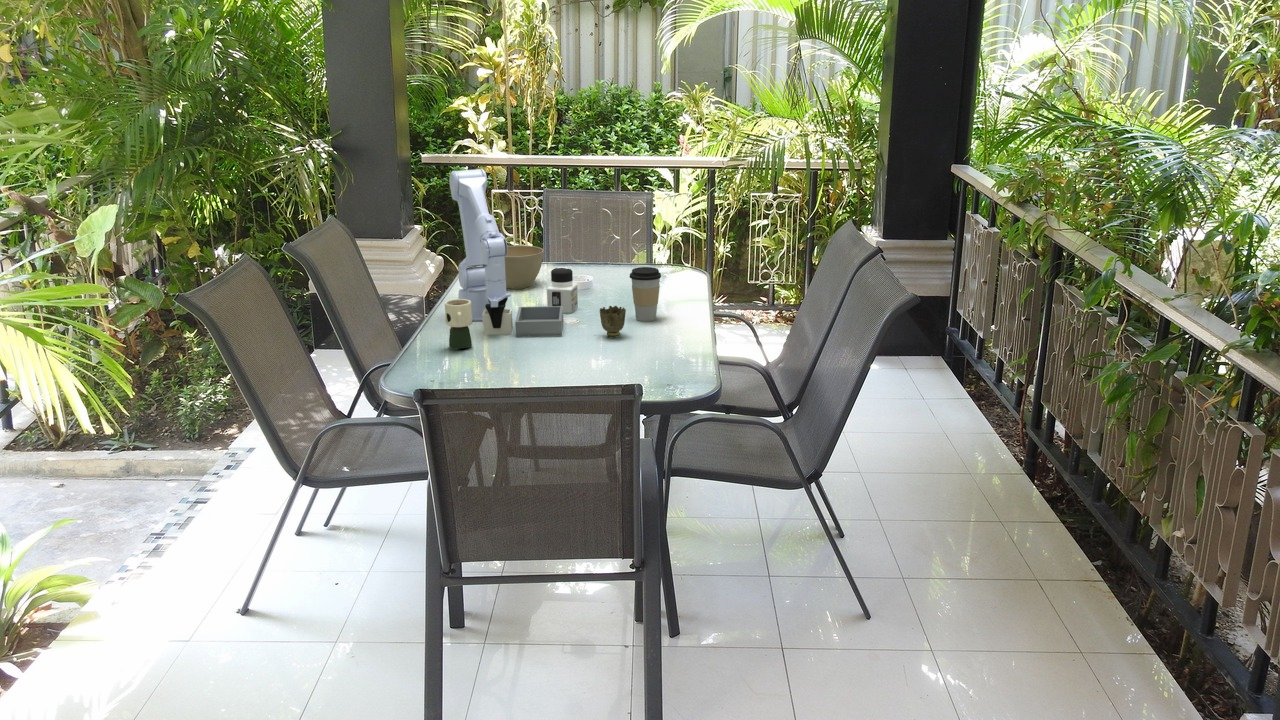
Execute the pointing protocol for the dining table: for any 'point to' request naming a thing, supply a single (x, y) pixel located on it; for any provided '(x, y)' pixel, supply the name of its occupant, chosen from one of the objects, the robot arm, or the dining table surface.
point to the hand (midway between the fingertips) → (497, 325)
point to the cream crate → (505, 326)
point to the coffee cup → (645, 292)
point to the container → (562, 290)
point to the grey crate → (539, 321)
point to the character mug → (459, 322)
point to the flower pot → (522, 265)
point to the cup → (612, 320)
